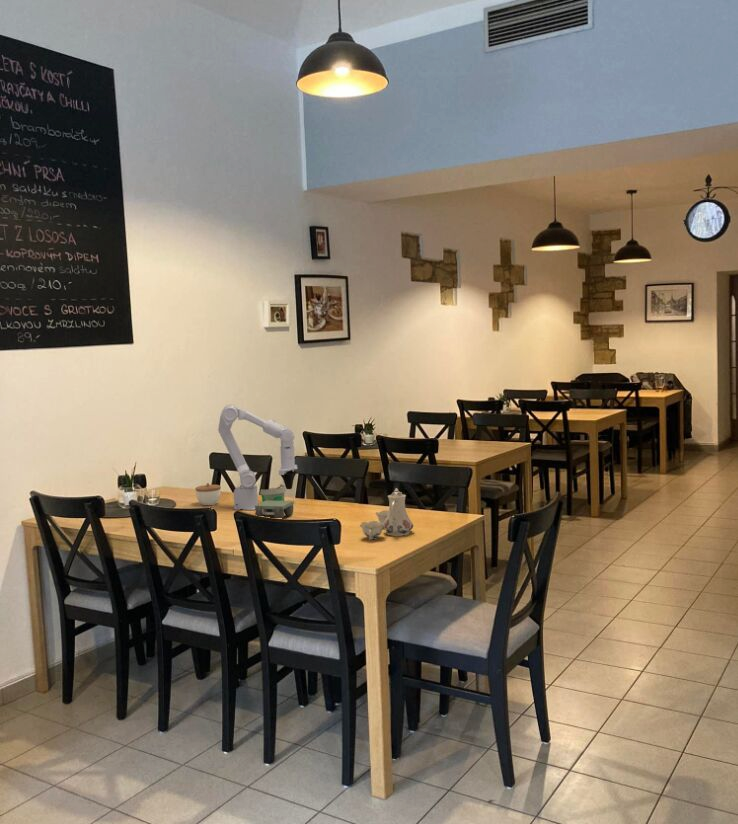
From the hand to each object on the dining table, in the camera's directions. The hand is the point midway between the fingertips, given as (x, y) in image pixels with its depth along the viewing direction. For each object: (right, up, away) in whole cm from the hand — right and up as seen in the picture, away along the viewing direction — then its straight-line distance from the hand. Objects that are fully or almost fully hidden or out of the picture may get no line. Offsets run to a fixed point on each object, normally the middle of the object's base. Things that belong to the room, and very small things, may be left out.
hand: (289, 488), depth 341 cm
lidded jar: (-36, -8, +10) cm, 38 cm away
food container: (-4, -8, -11) cm, 15 cm away
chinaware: (+41, -11, -55) cm, 70 cm away
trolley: (-3, -9, -23) cm, 25 cm away
